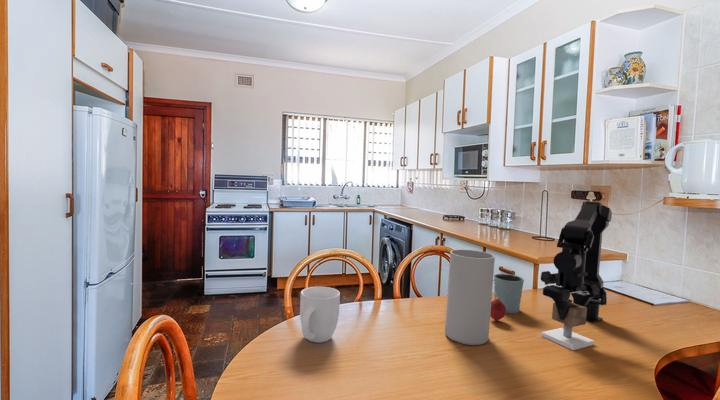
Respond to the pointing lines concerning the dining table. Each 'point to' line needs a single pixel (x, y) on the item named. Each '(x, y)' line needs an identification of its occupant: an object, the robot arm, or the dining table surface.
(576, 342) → the post base
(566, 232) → the robot arm
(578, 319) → the collar
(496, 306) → the onion
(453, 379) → the dining table surface
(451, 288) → the cylinder vase
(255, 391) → the dining table surface
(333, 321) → the mug
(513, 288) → the grey-blue tapered cup
